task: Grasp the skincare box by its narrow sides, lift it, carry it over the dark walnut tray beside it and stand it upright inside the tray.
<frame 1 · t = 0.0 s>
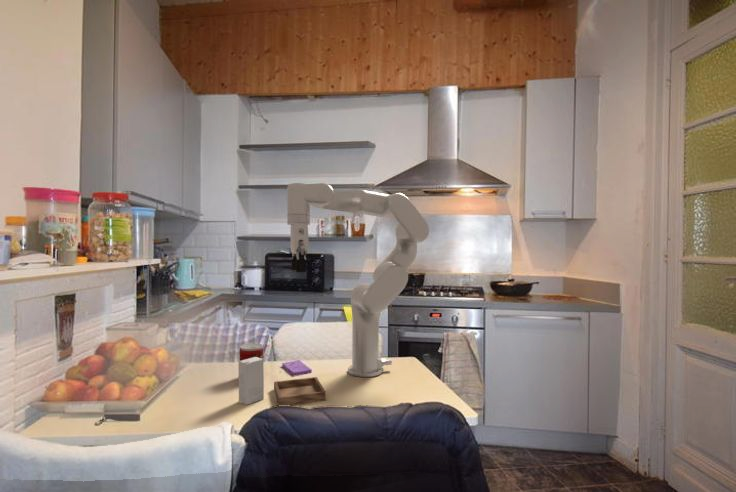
hand: (298, 270, 135), 37 cm above the table, tool pointing down, fingers open, 9 cm apart
sponges: (296, 371, 146), on the table
canned food: (251, 378, 136), on the table
skincare box: (251, 401, 117), on the table
tray: (299, 394, 122), on the table
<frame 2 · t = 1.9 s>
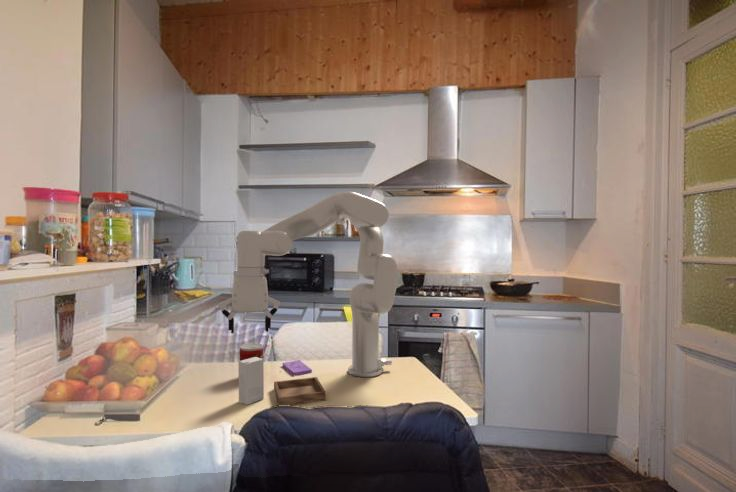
hand: (249, 331, 117), 20 cm above the table, tool pointing down, fingers open, 9 cm apart
nothing on the table moved.
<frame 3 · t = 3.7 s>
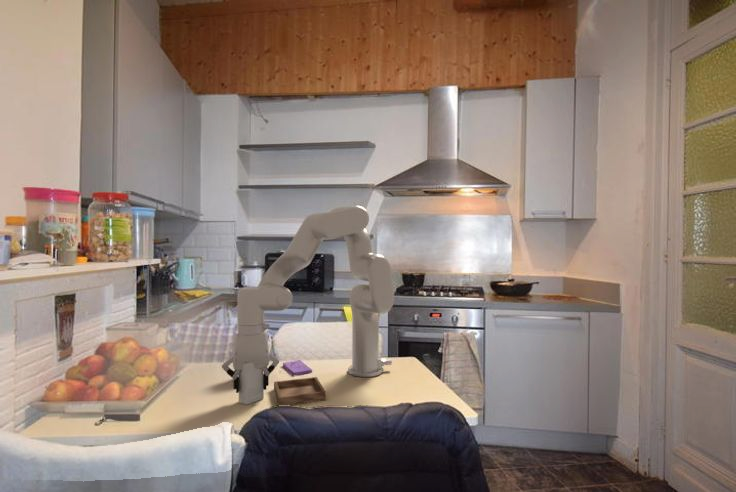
hand: (251, 389, 117), 3 cm above the table, tool pointing down, fingers closed on skincare box, 7 cm apart
skincare box: (251, 401, 117), on the table, touching gripper
everything else where it was.
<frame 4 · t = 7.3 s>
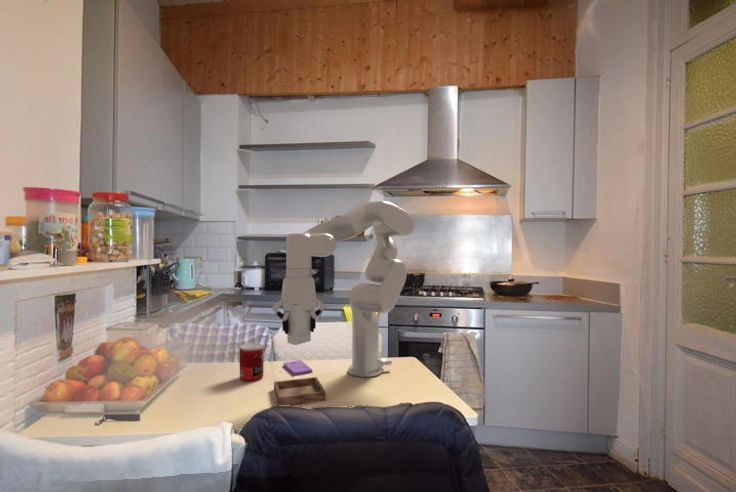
hand: (299, 331, 121), 19 cm above the table, tool pointing down, fingers closed on skincare box, 7 cm apart
skincare box: (299, 343, 121), point 16 cm above the table, touching gripper
everything else where it was.
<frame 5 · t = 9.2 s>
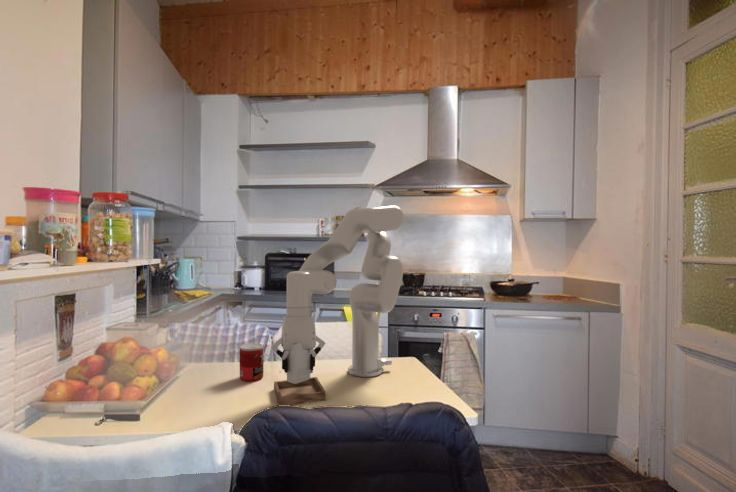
hand: (298, 369, 121), 8 cm above the table, tool pointing down, fingers closed on skincare box, 7 cm apart
skincare box: (298, 381, 121), point 4 cm above the table, touching gripper
everything else where it was.
when the fingers open (5 cm above the table, at t = 10.7 s): skincare box drops 1 cm, resting on tray.
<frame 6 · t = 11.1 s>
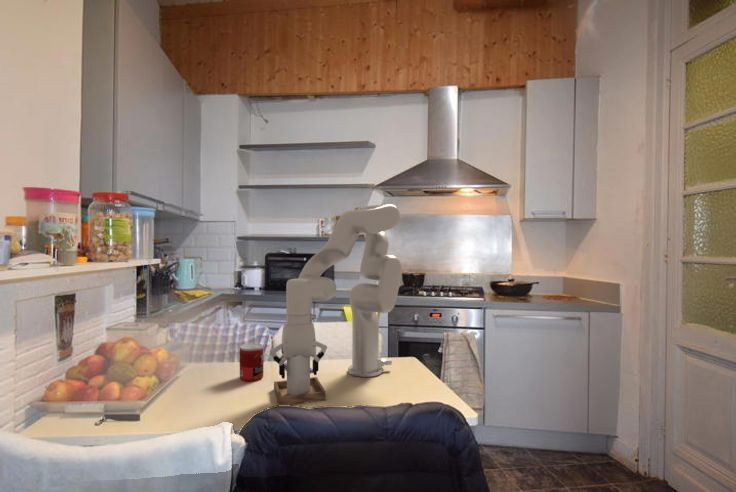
hand: (299, 375, 122), 6 cm above the table, tool pointing down, fingers open, 9 cm apart
skincare box: (298, 393, 122), resting on tray
everything else where it was.
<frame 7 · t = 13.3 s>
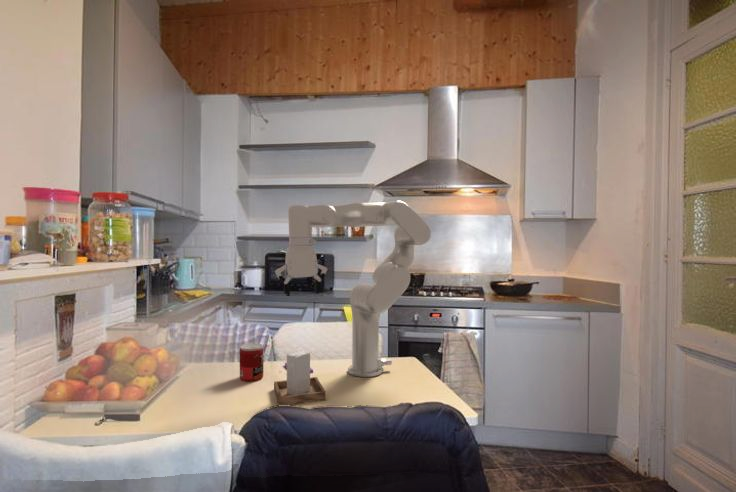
hand: (302, 294, 132), 29 cm above the table, tool pointing down, fingers open, 9 cm apart
nothing on the table moved.
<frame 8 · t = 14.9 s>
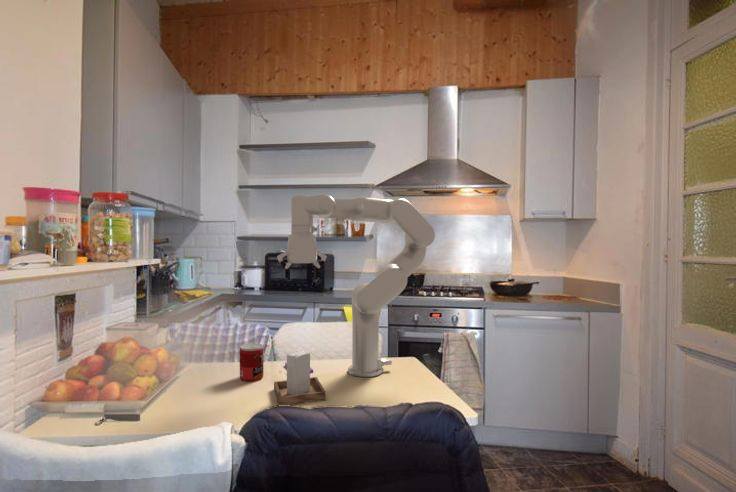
hand: (302, 279, 140), 33 cm above the table, tool pointing down, fingers open, 9 cm apart
nothing on the table moved.
at the end: skincare box inside the target area on the tray (0.1 cm from its centre), point 0.4 cm above the tray's base; skincare box tilted 0°; the gripper is holding nothing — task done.
